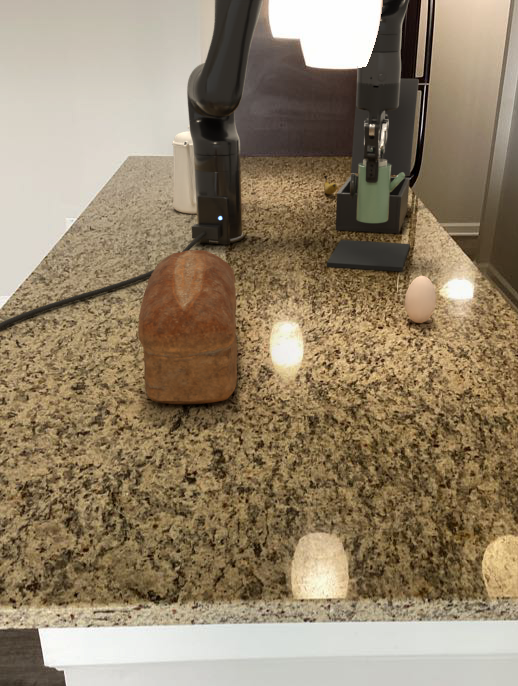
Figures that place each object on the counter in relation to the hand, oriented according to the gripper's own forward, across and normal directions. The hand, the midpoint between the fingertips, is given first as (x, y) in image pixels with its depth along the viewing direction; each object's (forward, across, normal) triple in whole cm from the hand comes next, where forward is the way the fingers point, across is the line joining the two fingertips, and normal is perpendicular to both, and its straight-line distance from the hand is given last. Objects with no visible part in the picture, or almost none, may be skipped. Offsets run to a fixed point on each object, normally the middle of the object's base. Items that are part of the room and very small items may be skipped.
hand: (373, 178), depth 145 cm
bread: (+15, +55, -17) cm, 60 cm away
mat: (+15, 0, 0) cm, 15 cm away
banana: (+15, -51, -17) cm, 56 cm away
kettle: (+8, 0, 0) cm, 8 cm away
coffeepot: (+15, -29, -45) cm, 55 cm away
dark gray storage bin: (+15, -28, -3) cm, 32 cm away
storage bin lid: (-3, -40, -3) cm, 40 cm away
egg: (+15, +33, +12) cm, 38 cm away
